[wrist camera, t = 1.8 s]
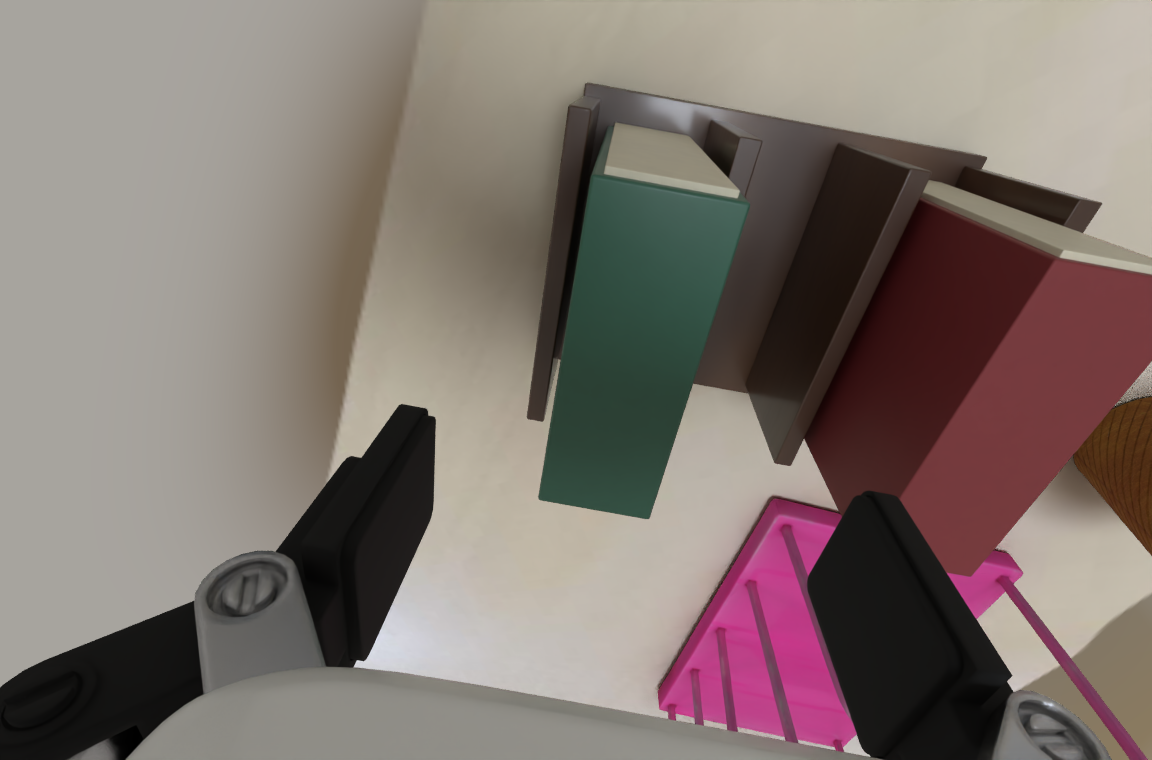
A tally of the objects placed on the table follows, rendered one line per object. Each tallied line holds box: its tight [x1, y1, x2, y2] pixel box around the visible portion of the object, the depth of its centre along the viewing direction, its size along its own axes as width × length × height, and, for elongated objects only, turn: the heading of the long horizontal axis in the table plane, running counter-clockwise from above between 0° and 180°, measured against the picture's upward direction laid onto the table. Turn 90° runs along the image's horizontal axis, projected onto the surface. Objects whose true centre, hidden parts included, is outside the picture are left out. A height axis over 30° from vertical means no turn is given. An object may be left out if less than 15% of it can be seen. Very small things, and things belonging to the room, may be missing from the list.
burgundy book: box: [804, 180, 1152, 577], centre depth 21 cm, size 4×11×13 cm, turn 171°
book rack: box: [527, 83, 1102, 466], centre depth 24 cm, size 18×14×8 cm
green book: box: [538, 123, 750, 519], centre depth 21 cm, size 4×11×13 cm, turn 171°
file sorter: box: [658, 499, 1148, 760], centre depth 35 cm, size 17×25×16 cm
